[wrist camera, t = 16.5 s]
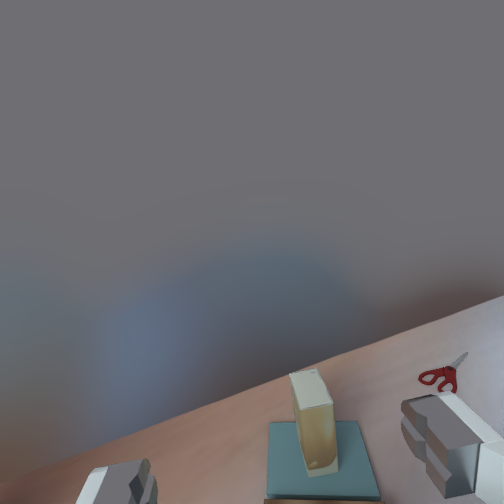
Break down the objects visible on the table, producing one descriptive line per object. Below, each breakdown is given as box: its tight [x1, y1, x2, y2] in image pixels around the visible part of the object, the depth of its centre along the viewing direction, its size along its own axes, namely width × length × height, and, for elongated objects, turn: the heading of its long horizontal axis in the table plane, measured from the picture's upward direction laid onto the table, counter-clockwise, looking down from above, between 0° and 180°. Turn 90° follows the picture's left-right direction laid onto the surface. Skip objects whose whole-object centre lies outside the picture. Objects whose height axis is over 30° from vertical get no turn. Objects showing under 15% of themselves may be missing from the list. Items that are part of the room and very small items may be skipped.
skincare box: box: [289, 368, 339, 478], centre depth 35 cm, size 6×4×12 cm
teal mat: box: [267, 421, 380, 501], centre depth 37 cm, size 14×10×1 cm
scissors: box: [418, 352, 468, 394], centre depth 48 cm, size 5×14×1 cm, turn 122°
